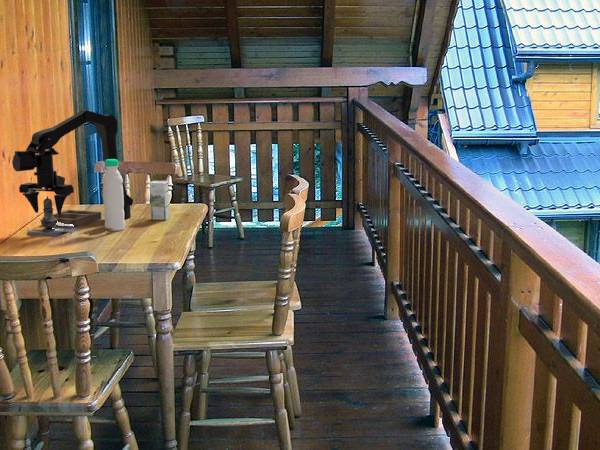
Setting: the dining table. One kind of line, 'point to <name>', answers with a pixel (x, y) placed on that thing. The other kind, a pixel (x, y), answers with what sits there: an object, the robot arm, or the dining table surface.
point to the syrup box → (159, 200)
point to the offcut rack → (77, 217)
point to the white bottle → (113, 196)
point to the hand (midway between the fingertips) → (48, 213)
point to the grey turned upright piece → (48, 216)
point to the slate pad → (45, 233)
